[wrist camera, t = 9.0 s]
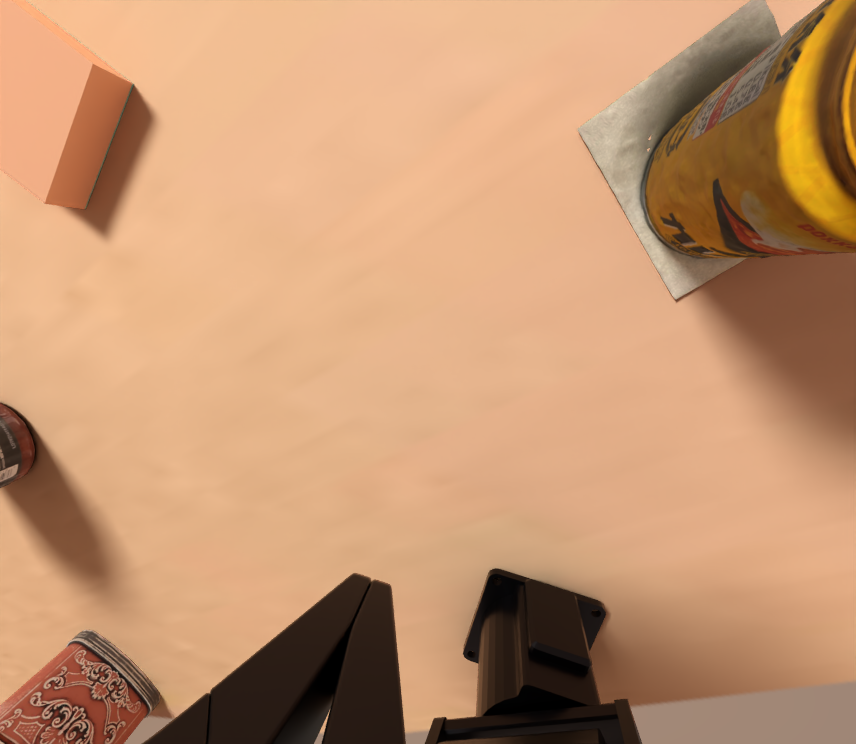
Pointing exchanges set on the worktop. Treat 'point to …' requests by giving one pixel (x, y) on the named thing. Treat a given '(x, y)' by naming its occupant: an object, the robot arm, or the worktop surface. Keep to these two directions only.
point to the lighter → (80, 698)
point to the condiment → (739, 145)
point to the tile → (54, 107)
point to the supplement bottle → (14, 447)
